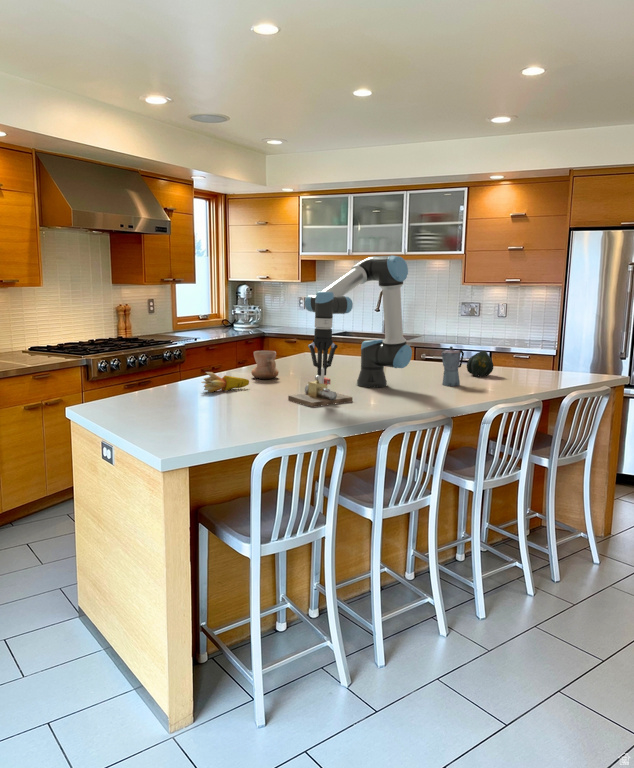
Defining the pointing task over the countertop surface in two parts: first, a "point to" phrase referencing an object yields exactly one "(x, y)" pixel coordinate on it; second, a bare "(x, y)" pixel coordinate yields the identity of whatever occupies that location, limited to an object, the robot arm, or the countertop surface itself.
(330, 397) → the valve pipe
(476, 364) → the squash
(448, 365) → the moka pot
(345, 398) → the mounting board
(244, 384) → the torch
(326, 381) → the valve lever
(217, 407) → the countertop surface
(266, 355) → the ceramic jug
